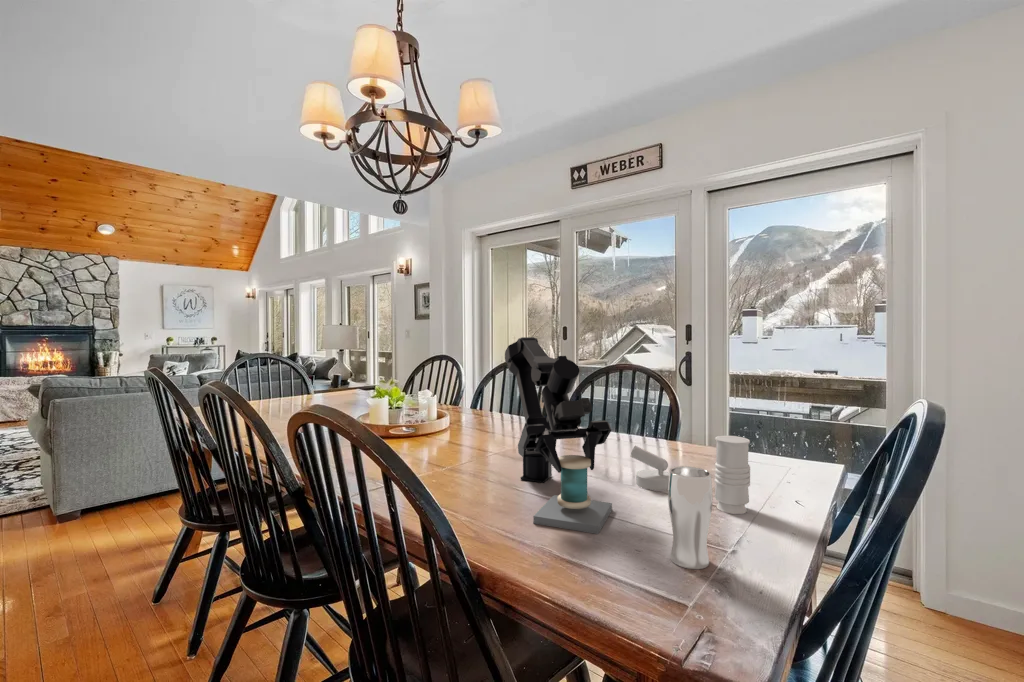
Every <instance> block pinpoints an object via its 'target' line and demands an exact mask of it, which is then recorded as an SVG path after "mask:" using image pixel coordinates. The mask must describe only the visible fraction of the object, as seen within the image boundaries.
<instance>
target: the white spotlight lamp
mask: <svg viewBox="0 0 1024 682" xmlns="http://www.w3.org/2000/svg"><path fill="white" fill-rule="evenodd" d="M630 457H631V458H633V459H635V460H636V461H639V462H641V463H643V464H645V465H647V466H649V467H651V468H654V469H641V470H638V471H636V473H635V485H636V484H637V485H638V486H637V485H636V486H637V487H639V488H641V487H642V488H641V489H644V488H645V489H644V490H648V489H650V490H649V491H657V490H661V491H668V490H667V489H668V484H669V472H667V470H668V468H669V462H668V461H667V460H666V459H665V458H664V457H661V456H659V455H657V454H655V453H652V452H651V451H648V450H646V449H643V448H642V447H639V446H638V445H636V444H635V445H634V446H633V448H632V450H631V453H630Z"/></svg>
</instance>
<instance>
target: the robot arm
mask: <svg viewBox="0 0 1024 682" xmlns="http://www.w3.org/2000/svg"><path fill="white" fill-rule="evenodd" d="M504 362H505V363H506V364H507V367H508V371H509V372H510V373H511V374H512V375H514V376H515V378H516V382H517V387H518V391H519V396H520V402H521V407H522V411H523V417H524V421H525V423H524V425H523V428H522V431H521V435H520V438H519V440H518V442H517V452H518V454H519V455H520V456H521V457H522V476H520V480H522V481H529V482H536V483H545V482H546V481H547V480H549V479H550V478H551V477H552V476H553V474H552V470H553V469H552V467H553V468H554V469H555V470H556V472H557V473H559V474H561V465H560V461H559V456H558V452H557V449H556V448H557V440H567V439H568V440H570V439H583V444H582V446H581V447H582V452H583V454H584V456H585V457H588V458H590V459H591V466H590V467H589V469H590V471H594V469H595V458H596V457H595V455H596V453H595V452H596V448H597V446H598V445H602V444H605V442H606V441H607V439H608V438H609V435H610V434H611V432H612V428H611V425H610V423H609V421H607V420H593V421H590V422H589V423H588V426H587V427H583V428H580V427H579V425H581V423H582V418H583V417H585V416H586V415H589V414H591V412H593V411H592V410H593V408H592V403H591V400H590V398H589V397H581V398H580V399H579V400H570V398H569V395H568V394H570V393H571V392H572V391H573V388H574V387H575V383H576V381H577V379H578V377H579V375H580V372H581V371H580V367H579V366H578V365H577V363H576V362H575V361H572V360H571V359H568V357H567V356H566V355H557V357H556V358H553V357H550V356H549V355H548V354H547V353H546V352H545V350H544V349H543V347H542V346H541V345H540V344H539V341H538V338H536V337H533V336H532V337H527V336H526V337H520V338H518V339H517V340H516V341H515V342H513V343H511V344H509V345H508V346H507V347H506V350H504ZM537 387H543V388H542V390H541V403H543V405H544V408H545V412H546V416H544V414H543V412H542V408H541V403H540V399H539V395H538V391H537Z"/></svg>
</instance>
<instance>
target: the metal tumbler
mask: <svg viewBox="0 0 1024 682" xmlns="http://www.w3.org/2000/svg"><path fill="white" fill-rule="evenodd" d="M668 473H669V484H668V490H667V504H668V510H669V516H670V517H669V518H670V522H671V528H672V529H671V530H672V546H671V549H670V550H671V551H670V560H671V562H673V564H675V565H676V566H678V567H681V568H684V569H688V570H703V569H706V568H708V566H709V565H710V558H709V552H708V543H707V541H708V533H709V528H710V523H711V518H712V511H713V500H714V499H713V498H714V497H713V484H712V483H713V482H712V473H711V472H710V470H707V469H706V468H701V467H697V466H691V465H690V466H689V465H688V466H687V465H685V466H684V465H681V466H679V465H678V466H673V467H670V468H669V472H668Z"/></svg>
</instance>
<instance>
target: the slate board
mask: <svg viewBox="0 0 1024 682" xmlns="http://www.w3.org/2000/svg"><path fill="white" fill-rule="evenodd" d="M612 511H613V502H607V501H606V502H605V501H602V500H601V501H600V500H593V499H591V505H590V506H589V507H586V508H582V509H570V508H565V507H562V506H560V505H559V504H558V495H555V494H554V495H552V496H551V497H550V499H548V501H546V502H545V504H544V505H542V507H541V508H539V510H538V511H537V512H536V513H534V514H533V517H532V518H533V519H532V520H533V524H536V525H541V526H547V527H553V528H559V529H565V530H571V531H577V532H585V533H590V534H597V535H598V534H599V533H600V531H601V530H602V528H603V526H604V525H605V523H606V521H607V519H608V518H609V516H610V515H611V513H612Z"/></svg>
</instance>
